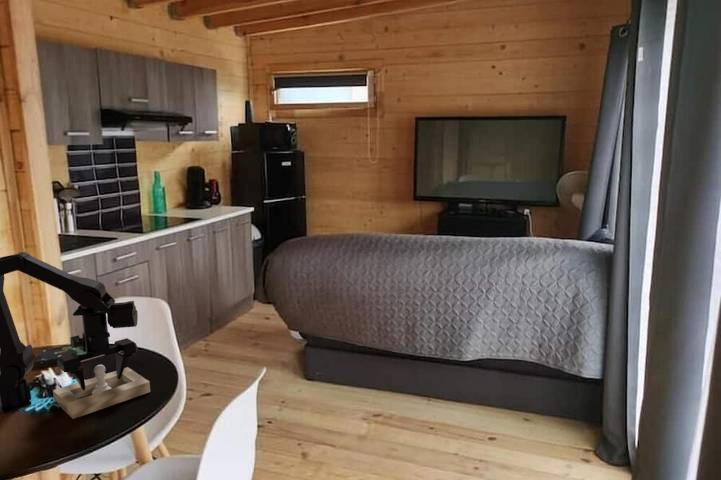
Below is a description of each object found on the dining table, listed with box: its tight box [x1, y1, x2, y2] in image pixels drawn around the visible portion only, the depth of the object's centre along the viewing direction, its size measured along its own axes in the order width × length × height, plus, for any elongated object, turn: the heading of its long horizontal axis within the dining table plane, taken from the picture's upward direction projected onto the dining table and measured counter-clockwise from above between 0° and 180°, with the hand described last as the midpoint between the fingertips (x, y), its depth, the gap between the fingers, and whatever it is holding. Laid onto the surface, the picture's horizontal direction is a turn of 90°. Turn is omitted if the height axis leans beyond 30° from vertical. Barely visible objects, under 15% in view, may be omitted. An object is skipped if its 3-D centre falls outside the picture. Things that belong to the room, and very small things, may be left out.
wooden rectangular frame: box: [52, 366, 151, 420], centre depth 147 cm, size 20×14×3 cm
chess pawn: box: [91, 364, 113, 395], centre depth 147 cm, size 5×5×9 cm
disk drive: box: [34, 345, 86, 369], centre depth 174 cm, size 10×3×15 cm
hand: (101, 384), depth 147 cm, fingers open, 9 cm apart
